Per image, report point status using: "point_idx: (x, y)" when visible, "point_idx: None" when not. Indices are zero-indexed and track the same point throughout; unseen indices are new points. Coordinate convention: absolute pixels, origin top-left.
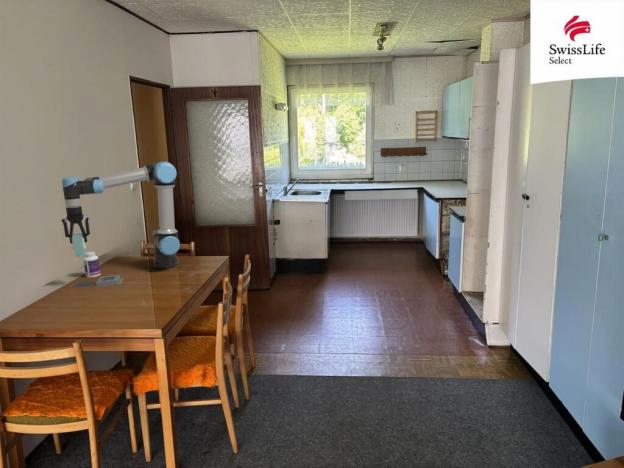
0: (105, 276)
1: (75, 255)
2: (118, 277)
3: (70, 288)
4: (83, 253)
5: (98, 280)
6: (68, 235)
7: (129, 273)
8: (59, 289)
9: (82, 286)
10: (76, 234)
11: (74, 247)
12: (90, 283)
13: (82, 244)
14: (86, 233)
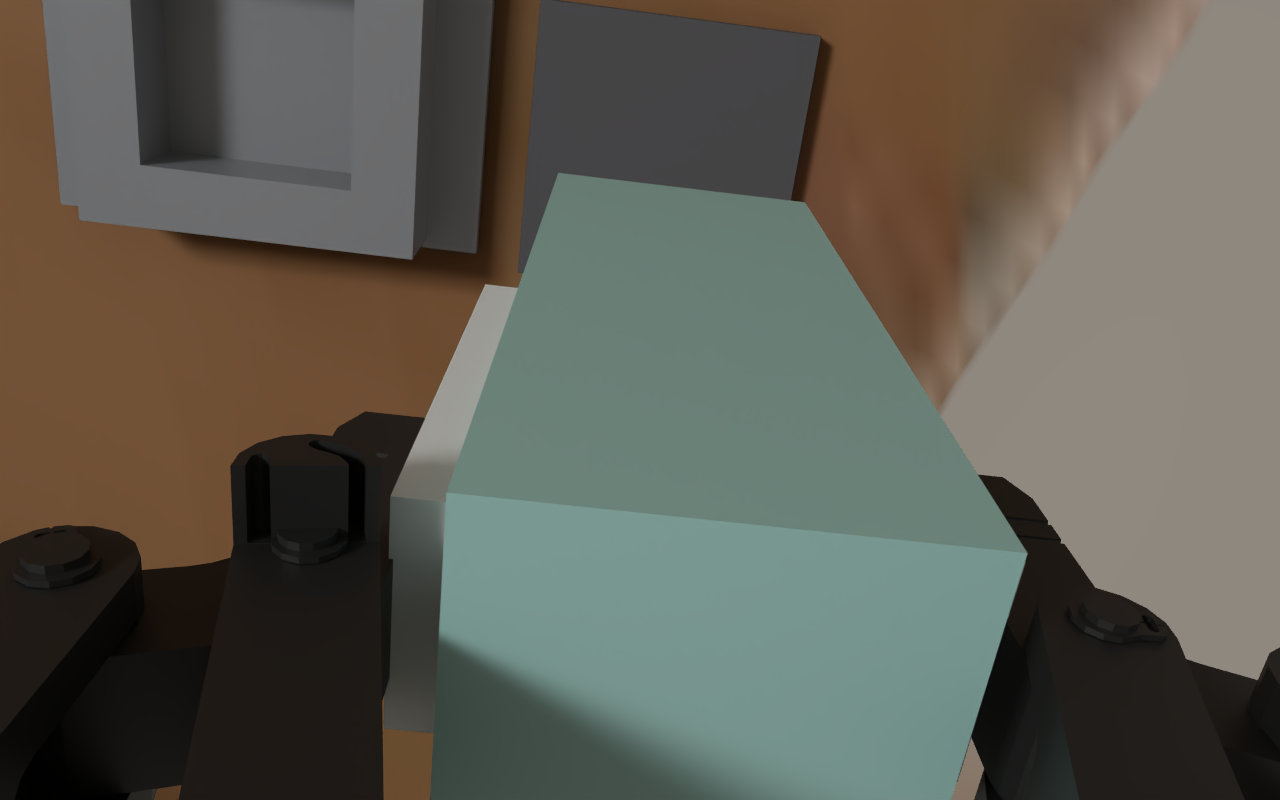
0: (322, 234)
1: (802, 212)
2: (70, 70)
3: (871, 95)
4: (562, 192)
5: (404, 22)
6: (1233, 736)
7: (57, 482)
8: (1032, 126)
9: (685, 46)
10: (774, 792)
11: (842, 294)
12: (573, 165)
13: (522, 286)
14: (97, 609)
